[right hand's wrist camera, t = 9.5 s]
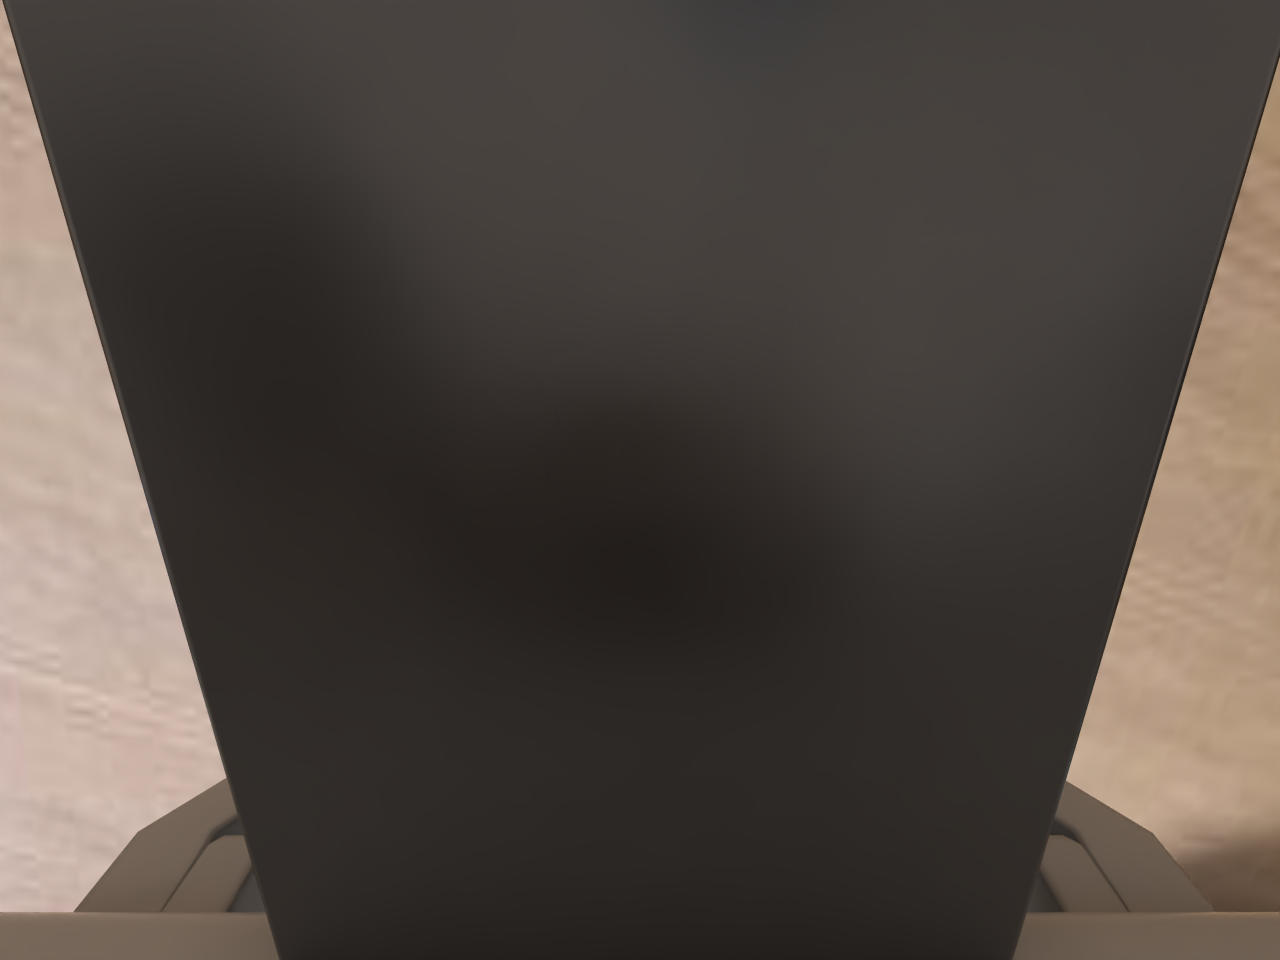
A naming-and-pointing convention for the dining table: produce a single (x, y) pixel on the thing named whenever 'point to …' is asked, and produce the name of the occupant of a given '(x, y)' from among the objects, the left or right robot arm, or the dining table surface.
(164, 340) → the bar
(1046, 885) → the right robot arm
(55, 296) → the dining table surface
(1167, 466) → the dining table surface
